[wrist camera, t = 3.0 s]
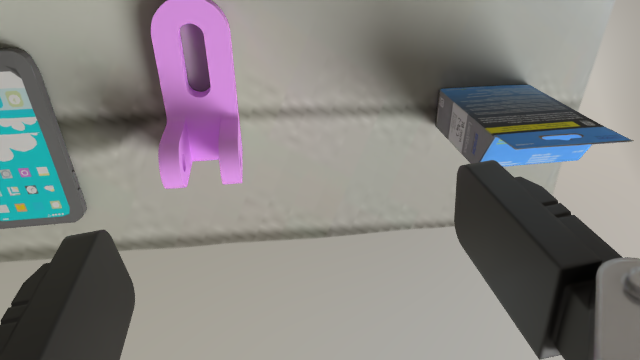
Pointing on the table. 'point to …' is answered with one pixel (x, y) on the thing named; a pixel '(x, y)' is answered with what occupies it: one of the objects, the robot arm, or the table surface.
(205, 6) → the bracket
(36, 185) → the smartphone
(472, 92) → the blue retail box
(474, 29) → the table surface
